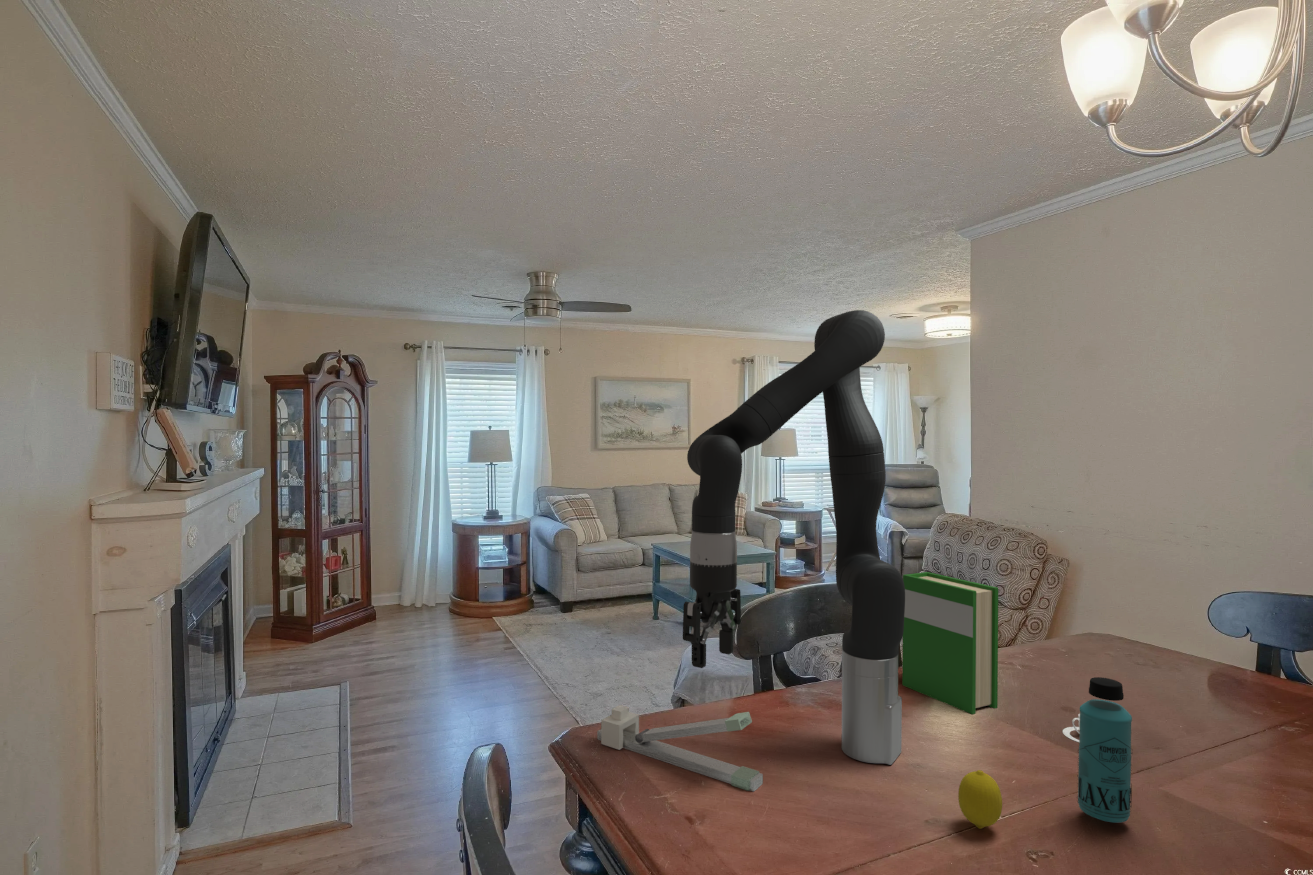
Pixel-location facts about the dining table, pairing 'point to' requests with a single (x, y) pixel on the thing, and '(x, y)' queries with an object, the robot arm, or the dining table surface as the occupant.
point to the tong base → (693, 761)
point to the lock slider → (618, 726)
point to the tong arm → (699, 728)
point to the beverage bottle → (1105, 753)
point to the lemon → (980, 799)
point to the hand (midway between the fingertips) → (712, 659)
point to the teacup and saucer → (1072, 729)
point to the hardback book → (951, 640)
